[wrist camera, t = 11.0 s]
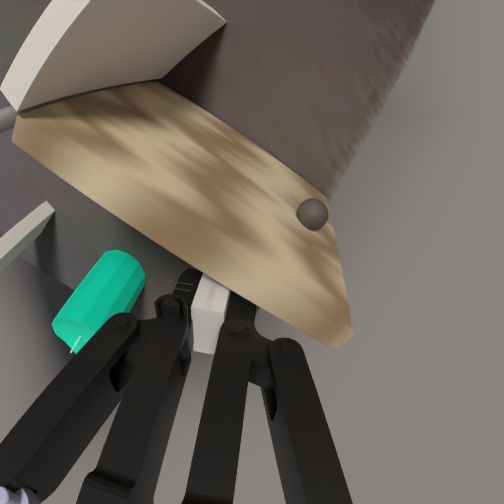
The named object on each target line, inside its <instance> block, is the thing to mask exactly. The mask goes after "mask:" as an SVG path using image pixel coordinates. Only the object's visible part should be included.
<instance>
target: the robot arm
mask: <svg viewBox="0 0 504 504" xmlns="http://www.w3.org/2000/svg"><path fill="white" fill-rule="evenodd" d="M155 309H156V315H157V318H154V319H150V320H137V319H136V318H135V316H134V315H132V314H130V313H127V312H120V313H117V314H114V315H113V316H111V317H110V318H109V319H108V320H107V321H106V322H105V323H104V324H103V325H102V327H101V328H100V329H99V330H98V331H97V332H96V333H95V334H94V335H93V336H92V337H91V338H90V339H89V340H88V342H87V343H86V344H85V345H84V346H83V347H82V348H81V349H80V350H79V351H78V352H77V354H76V355H75V356H74V357H73V358H72V359H71V360H70V361H69V362H68V364H67V365H66V366H65V367H64V368H63V369H62V370H61V371H60V373H59V374H58V375H57V376H56V377H55V378H54V379H53V380H52V382H51V383H50V384H49V385H48V386H47V388H46V389H45V390H44V391H43V392H42V393H41V395H40V396H39V397H38V398H37V399H36V400H35V402H34V403H33V404H32V405H31V406H30V408H29V409H28V410H27V411H26V412H25V414H24V415H23V416H22V417H21V419H20V420H19V421H18V422H17V423H16V425H15V426H14V427H13V428H12V430H11V431H10V432H9V434H8V435H7V436H6V437H5V438H4V440H3V441H2V442H1V444H0V504H41V502H42V501H44V500H45V499H47V498H48V497H49V496H50V495H51V494H52V493H53V492H54V491H55V490H56V488H57V487H58V486H59V485H60V484H61V482H62V481H63V479H64V478H65V477H66V475H67V474H68V472H69V471H70V470H71V468H72V467H73V465H74V464H75V463H76V461H77V460H78V458H79V457H80V455H81V454H82V453H83V451H84V450H85V448H86V447H87V446H88V444H89V443H90V442H91V440H92V439H93V437H94V436H95V435H96V433H97V432H98V431H99V429H100V428H101V426H102V425H103V423H104V422H105V421H106V419H107V418H108V417H109V415H110V414H111V413H112V411H113V410H114V409H115V407H116V406H117V404H118V403H119V402H120V400H121V399H122V400H121V403H120V405H119V408H118V410H117V413H116V415H115V418H114V420H113V423H112V426H111V428H110V431H109V434H108V436H107V439H106V442H105V444H104V447H103V450H102V453H101V455H100V458H99V461H98V464H97V466H96V468H95V470H94V471H92V472H90V473H88V475H87V476H86V477H85V479H84V482H83V484H82V487H81V490H80V493H79V496H78V499H77V502H76V504H153V498H154V493H155V489H156V485H157V481H158V477H159V474H160V470H161V466H162V462H163V459H164V455H165V451H166V447H167V444H168V440H169V436H170V433H171V429H172V425H173V422H174V418H175V415H176V411H177V408H178V404H179V401H180V397H181V394H182V390H183V387H184V383H185V380H186V376H187V373H188V370H189V366H190V363H191V350H192V347H193V349H194V351H197V352H202V353H208V354H214V359H213V363H212V368H211V372H210V377H209V382H208V386H207V391H206V396H205V400H204V406H203V410H202V415H201V419H200V424H199V429H198V434H197V439H196V443H195V448H194V453H193V458H192V463H191V468H190V473H189V478H188V483H187V488H186V493H185V497H184V499H183V501H182V503H181V504H233V498H234V490H235V483H236V474H237V466H238V459H239V451H240V442H241V435H242V427H243V419H244V411H245V401H246V394H247V386H248V381H249V382H251V383H253V384H256V385H258V386H260V387H261V391H262V396H263V400H264V405H265V410H266V415H267V420H268V424H269V429H270V434H271V438H272V443H273V447H274V452H275V457H276V461H277V466H278V470H279V475H280V479H281V483H282V488H283V492H284V496H285V501H286V504H353V503H352V500H351V497H350V494H349V490H348V487H347V484H346V481H345V477H344V474H343V471H342V468H341V465H340V461H339V458H338V455H337V452H336V449H335V446H334V443H333V439H332V436H331V433H330V430H329V427H328V424H327V421H326V418H325V415H324V412H323V409H322V405H321V403H320V399H319V396H318V393H317V390H316V387H315V384H314V381H313V378H312V375H311V372H310V370H309V366H308V363H307V360H306V358H305V354H304V351H303V349H302V347H301V345H300V344H299V343H298V342H296V341H295V340H293V339H290V338H279V339H276V340H274V341H271V340H269V339H266V338H264V337H263V336H261V335H260V334H259V333H258V332H257V331H256V329H255V326H254V321H255V313H256V304H254V303H252V302H251V301H249V300H247V299H246V298H244V297H242V296H241V295H239V294H237V293H236V292H234V291H232V290H231V289H229V288H227V287H226V286H224V285H222V284H221V283H219V282H218V281H216V280H214V279H213V278H211V277H209V276H208V275H206V274H205V273H203V272H201V271H200V270H194V269H187V270H186V271H185V272H183V273H182V274H181V276H180V278H179V280H178V283H177V285H176V287H175V289H174V291H173V294H167V295H163V296H161V297H159V298H158V299H157V300H156V301H155Z"/></svg>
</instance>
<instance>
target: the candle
mask: <svg viewBox="0 0 504 504" xmlns="http://www.w3.org/2000/svg"><path fill="white" fill-rule="evenodd" d="M145 275H146V274H145V272H144V270H143V269H142V267H141V265H140V263H139V262H138V261H137V260H136V259H134V258H133V257H132V256H131V255H130V254H129V253H125V252H122V251H119V250H111V251H107V252H105V253H104V254H103V256H102V257H101V258H100V259H99V261H98V262H97V263H96V264H95V265H94V267H93V268H92V269H91V270H90V272H89V273H88V274H87V276H86V277H85V278H84V279H83V281H82V282H81V283H80V285H79V286H78V287H77V289H76V290H75V291H74V293H73V294H72V295H71V297H70V298H69V299H68V301H67V302H66V303H65V305H64V306H63V307H62V309H61V310H60V312H59V313H58V314H57V316H56V317H55V319H54V321H53V323H52V326H53V329H54V331H55V334H56V335H58V336H59V337H60V338H61V339H62V340H64V341H65V342H66V343H67V344H68V345H69V346H70V348H71V349H72V350H71V352H70V353H72V351H74V352H75V353H76V354H77V352H78V351H79V350H80V349H81V348H82V347H83V346H84V345H85V344H86V343H87V342H88V340H89V339H90V338H91V337H92V336H93V335H94V334H95V333H96V332H97V331H98V330H99V329H100V328H101V327H102V325H103V324H104V323H105V322H106V321H107V320H108V319H109V318H110V317H111V316H113V315H114V314H117V313H120V312H127V313H129V312H130V310H131V308H132V307H133V305H134V303H135V301H136V300H137V298H138V296H139V294H140V292H141V291H142V289H143V287H144V285H145Z"/></svg>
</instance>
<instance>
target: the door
mask: <svg viewBox="0 0 504 504" xmlns="http://www.w3.org/2000/svg"><path fill="white" fill-rule="evenodd" d="M11 141H12V142H13V143H15V144H16V145H17V146H19V147H20V148H21V149H23V150H24V151H25V152H27V153H28V154H29V155H31V156H32V157H33V158H35V159H36V160H37V161H39V162H40V163H41V164H43V165H44V166H46V167H47V168H48V169H50V170H51V171H52V172H54V173H55V174H57V175H58V176H59V177H61V178H62V179H64V180H65V181H66V182H68V183H69V184H71V185H72V186H73V187H75V188H76V189H78V190H79V191H81V192H82V193H83V194H85V195H86V196H88V197H89V198H91V199H92V200H93V201H95V202H96V203H98V204H99V205H101V206H102V207H104V208H105V209H107V210H108V211H109V212H111V213H112V214H114V215H115V216H117V217H118V218H120V219H121V220H123V221H124V222H126V223H127V224H129V225H130V226H132V227H133V228H135V229H136V230H138V231H139V232H141V233H142V234H144V235H145V236H147V237H148V238H150V239H151V240H153V241H154V242H156V243H158V244H159V245H161V246H162V247H164V248H165V249H167V250H168V251H170V252H171V253H173V254H175V255H176V256H178V257H179V258H181V259H182V260H184V261H186V262H187V263H189V264H190V265H192V266H193V267H195V268H197V269H198V270H200V271H201V272H203V273H205V274H206V275H208V276H209V277H211V278H213V279H214V280H216V281H218V282H219V283H221V284H222V285H224V286H226V287H227V288H229V289H231V290H232V291H234V292H236V293H237V294H239V295H241V296H242V297H244V298H246V299H247V300H249V301H251V302H252V303H254V304H256V305H257V306H259V307H261V308H262V309H264V310H266V311H267V312H269V313H271V314H272V315H274V316H276V317H278V318H279V319H281V320H283V321H284V322H286V323H288V324H290V325H292V326H293V327H295V328H297V329H298V330H300V331H302V332H304V333H306V334H307V335H309V336H311V337H313V338H314V339H316V340H318V341H319V342H321V343H323V344H325V345H327V346H328V347H330V348H332V349H335V348H337V347H338V346H340V345H341V344H343V343H344V342H345V341H347V340H348V339H350V338H351V337H353V336H354V335H353V329H352V323H351V317H350V311H349V305H348V300H347V294H346V289H345V283H344V279H343V273H342V268H341V263H340V258H339V253H338V249H337V244H336V239H335V235H334V231H333V226H332V222H331V217H330V213H329V209H328V205H327V201H326V197H325V196H324V195H323V194H321V193H320V192H319V191H318V190H316V189H315V188H314V187H313V186H311V185H310V184H309V183H307V182H306V181H305V180H303V179H302V178H301V177H300V176H298V175H297V174H296V173H294V172H293V171H292V170H290V169H289V168H288V167H286V166H285V165H284V164H282V163H281V162H280V161H278V160H277V159H275V158H274V157H273V156H271V155H270V154H269V153H267V152H266V151H264V150H263V149H262V148H260V147H259V146H257V145H256V144H254V143H253V142H252V141H250V140H249V139H247V138H246V137H244V136H243V135H242V134H240V133H239V132H237V131H236V130H234V129H233V128H231V127H230V126H228V125H227V124H225V123H224V122H222V121H221V120H219V119H218V118H216V117H215V116H213V115H212V114H210V113H208V112H207V111H205V110H204V109H202V108H201V107H199V106H197V105H196V104H194V103H193V102H191V101H189V100H188V99H186V98H185V97H183V96H181V95H180V94H178V93H176V92H175V91H173V90H171V89H170V88H168V87H166V86H165V85H163V84H161V83H160V82H158V81H152V82H146V83H140V84H134V85H128V86H123V87H118V88H113V89H108V90H103V91H99V92H94V93H90V94H86V95H82V96H78V97H74V98H71V99H67V100H63V101H60V102H57V103H53V104H50V105H47V106H44V107H41V108H37V109H34V110H32V111H29V112H26V113H23V114H20V115H18V116H17V118H16V122H15V126H14V130H13V135H12V139H11Z"/></svg>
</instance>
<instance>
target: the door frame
mask: <svg viewBox="0 0 504 504" xmlns="http://www.w3.org/2000/svg"><path fill="white" fill-rule="evenodd" d="M225 23H227V22H226V21H225V20H224V19H223V18H222V17H221V16H220V15H219V14H218V13H217V12H216V11H215V10H214V9H213V8H211V7H210V6H209V5H207V4H206V3H205V2H203V1H202V0H52V2H51V3H50V4H49V6H48V7H47V8H46V10H45V11H44V13H43V14H42V15H41V17H40V18H39V20H38V21H37V23H36V24H35V26H34V27H33V29H32V31H31V32H30V34H29V35H28V37H27V39H26V40H25V42H24V44H23V45H22V47H21V49H20V50H19V52H18V54H17V56H16V57H15V59H14V61H13V63H12V65H11V67H10V69H9V71H8V73H7V75H6V77H5V79H4V81H3V83H2V85H1V87H0V90H1V91H2V93H3V94H4V95H5V97H6V98H7V100H8V101H9V102H10V104H11V105H12V106H9V107H6V108H3V109H0V133H1V132H3V131H6V130H8V129H10V128H13V127H14V126H15V122H16V118H17V116H18V115H20V114H23V113H26V112H29V111H32V110H34V109H37V108H41V107H44V106H47V105H50V104H53V103H57V102H60V101H63V100H67V99H71V98H74V97H78V96H82V95H86V94H90V93H94V92H99V91H103V90H108V89H113V88H118V87H123V86H128V85H134V84H140V83H146V82H152V79H160V78H163V77H164V76H165V75H166V74H167V73H168V72H169V71H170V70H171V69H172V68H173V67H175V66H176V65H177V64H178V63H179V62H180V61H181V60H182V59H183V58H184V57H185V56H187V55H188V54H189V53H190V52H191V51H192V50H193V49H195V48H196V47H197V46H198V45H199V44H200V43H202V42H203V41H204V40H205V39H207V38H208V37H209V36H210V35H211V34H213V33H214V32H215V31H216V30H218V29H219V28H220V27H222V26H223V25H224V24H225ZM54 211H55V210H54V209H53V208H52V207H51V205H50V204H49V203H48V202H47V201H45V202H44V203H43V204H41V205H40V206H39V207H37V208H36V209H35V210H34V211H32V212H31V213H30V214H29V215H27V216H26V217H25V218H24V219H22V220H21V221H20V222H19V223H18V224H16V225H15V226H14V227H13V228H12V229H10V230H9V231H8V232H7V233H6V234H5V235H4V236H2V237H1V238H0V273H1V272H2V271H3V270H4V269H5V268H6V267H7V266H8V265H9V264H10V263H11V262H12V261H13V260H14V259H15V258H16V257H17V256H18V255H19V254H20V253H21V252H22V251H23V250H24V249H25V248H26V247H27V246H28V245H29V244H30V243H31V242H32V241H33V240H35V239H36V238H37V237H38V236H39V235H40V234H41V233H42V231H43V229H44V228H45V226H46V224H47V223H48V221H49V219H50V218H51V216H52V214H53V213H54Z"/></svg>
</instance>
